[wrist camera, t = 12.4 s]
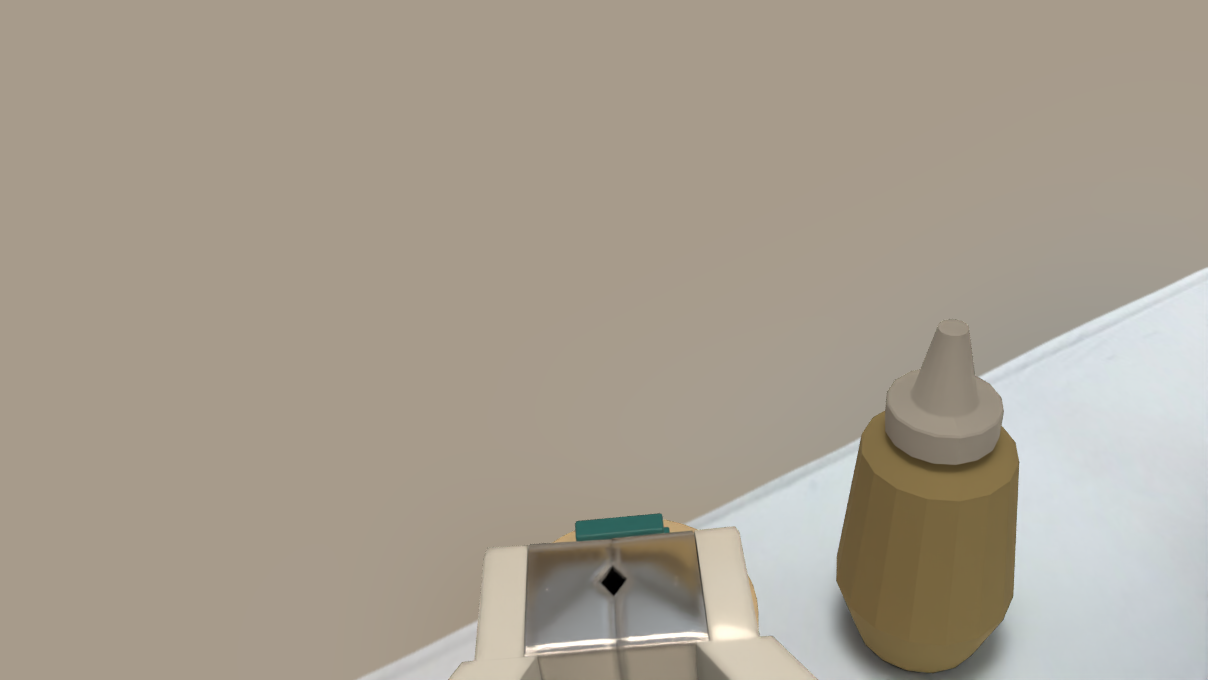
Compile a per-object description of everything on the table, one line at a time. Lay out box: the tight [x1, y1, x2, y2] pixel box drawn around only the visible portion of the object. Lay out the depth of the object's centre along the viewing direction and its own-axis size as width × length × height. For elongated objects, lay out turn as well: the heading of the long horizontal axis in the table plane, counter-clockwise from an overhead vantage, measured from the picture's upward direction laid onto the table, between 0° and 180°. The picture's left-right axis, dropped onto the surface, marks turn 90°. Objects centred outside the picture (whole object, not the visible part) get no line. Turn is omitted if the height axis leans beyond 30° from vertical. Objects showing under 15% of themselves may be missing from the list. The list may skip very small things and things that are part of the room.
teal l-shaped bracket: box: [575, 514, 670, 541], centre depth 37 cm, size 4×4×4 cm
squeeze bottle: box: [836, 319, 1019, 673], centre depth 45 cm, size 8×8×18 cm
